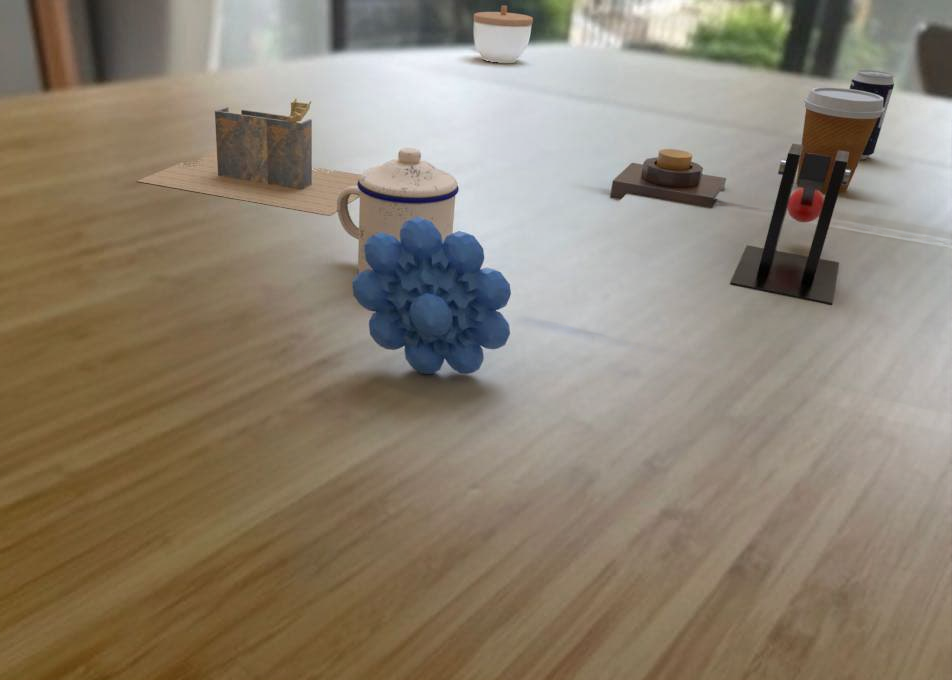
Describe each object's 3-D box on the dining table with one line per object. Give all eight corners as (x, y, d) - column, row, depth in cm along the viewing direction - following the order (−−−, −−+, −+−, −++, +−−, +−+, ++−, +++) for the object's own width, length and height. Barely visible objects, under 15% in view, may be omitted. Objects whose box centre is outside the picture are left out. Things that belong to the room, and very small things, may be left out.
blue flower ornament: (342, 394, 65) (345, 233, 59) (354, 352, 70) (358, 202, 65) (505, 407, 64) (524, 247, 58) (504, 364, 70) (521, 214, 64)
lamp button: (692, 166, 112) (695, 152, 111) (686, 173, 108) (689, 159, 107) (659, 161, 113) (662, 147, 112) (653, 168, 110) (655, 154, 109)
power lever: (782, 222, 96) (791, 189, 96) (818, 229, 94) (827, 195, 94) (788, 183, 82) (799, 144, 82) (830, 189, 81) (841, 151, 81)
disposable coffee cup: (784, 191, 117) (808, 96, 111) (782, 173, 125) (805, 83, 119) (862, 202, 115) (892, 105, 109) (856, 183, 123) (883, 91, 117)
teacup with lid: (468, 270, 87) (479, 148, 81) (421, 300, 80) (429, 170, 74) (363, 243, 92) (366, 127, 86) (310, 269, 85) (310, 145, 79)
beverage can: (843, 149, 140) (866, 68, 134) (878, 157, 136) (903, 74, 131) (824, 153, 137) (847, 70, 131) (860, 162, 133) (885, 77, 127)
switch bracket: (744, 255, 95) (774, 132, 89) (835, 273, 92) (873, 146, 85) (727, 294, 85) (759, 158, 79) (828, 315, 82) (871, 175, 76)
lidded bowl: (499, 54, 204) (504, 1, 199) (540, 63, 196) (546, 8, 191) (458, 57, 197) (462, 3, 192) (499, 67, 189) (504, 10, 183)
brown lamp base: (722, 195, 114) (729, 163, 112) (709, 216, 106) (717, 182, 104) (628, 179, 118) (634, 148, 117) (609, 198, 110) (615, 165, 109)
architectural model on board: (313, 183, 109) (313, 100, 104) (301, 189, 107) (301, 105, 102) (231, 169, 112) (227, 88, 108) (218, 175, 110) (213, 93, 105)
